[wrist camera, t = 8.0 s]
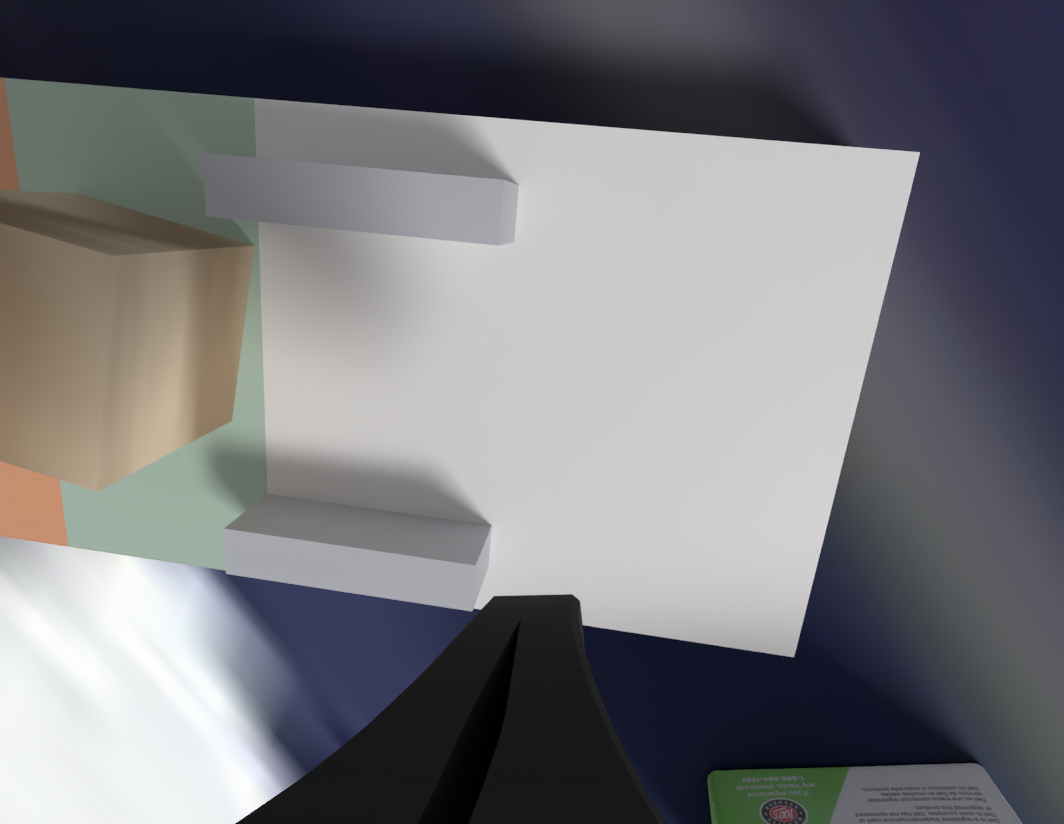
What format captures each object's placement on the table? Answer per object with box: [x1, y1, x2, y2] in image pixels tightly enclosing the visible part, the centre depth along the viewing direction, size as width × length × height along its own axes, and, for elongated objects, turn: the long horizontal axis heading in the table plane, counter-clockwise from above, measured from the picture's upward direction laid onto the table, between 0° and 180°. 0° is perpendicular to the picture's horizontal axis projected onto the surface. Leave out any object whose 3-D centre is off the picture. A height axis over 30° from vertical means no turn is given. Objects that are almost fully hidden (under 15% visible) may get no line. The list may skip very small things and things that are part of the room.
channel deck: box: [0, 78, 920, 657], centre depth 16 cm, size 28×12×5 cm, turn 85°
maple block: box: [0, 190, 254, 491], centre depth 14 cm, size 4×4×4 cm
